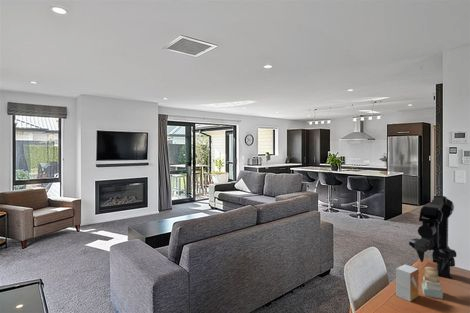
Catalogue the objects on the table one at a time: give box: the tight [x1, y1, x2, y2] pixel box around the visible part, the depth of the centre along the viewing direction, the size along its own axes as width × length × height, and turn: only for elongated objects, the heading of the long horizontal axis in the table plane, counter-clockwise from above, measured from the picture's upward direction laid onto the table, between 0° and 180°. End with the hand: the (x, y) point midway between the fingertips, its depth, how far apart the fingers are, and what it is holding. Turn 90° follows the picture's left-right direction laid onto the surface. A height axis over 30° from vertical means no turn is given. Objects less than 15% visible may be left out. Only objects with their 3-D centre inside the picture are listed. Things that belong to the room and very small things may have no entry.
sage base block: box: [421, 281, 444, 300], centre depth 128 cm, size 7×7×4 cm
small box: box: [395, 264, 420, 302], centre depth 126 cm, size 8×6×13 cm
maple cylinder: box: [424, 266, 439, 282], centre depth 128 cm, size 5×5×5 cm
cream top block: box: [422, 275, 442, 291], centre depth 128 cm, size 6×6×4 cm
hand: (431, 265), depth 129 cm, fingers open, 9 cm apart
